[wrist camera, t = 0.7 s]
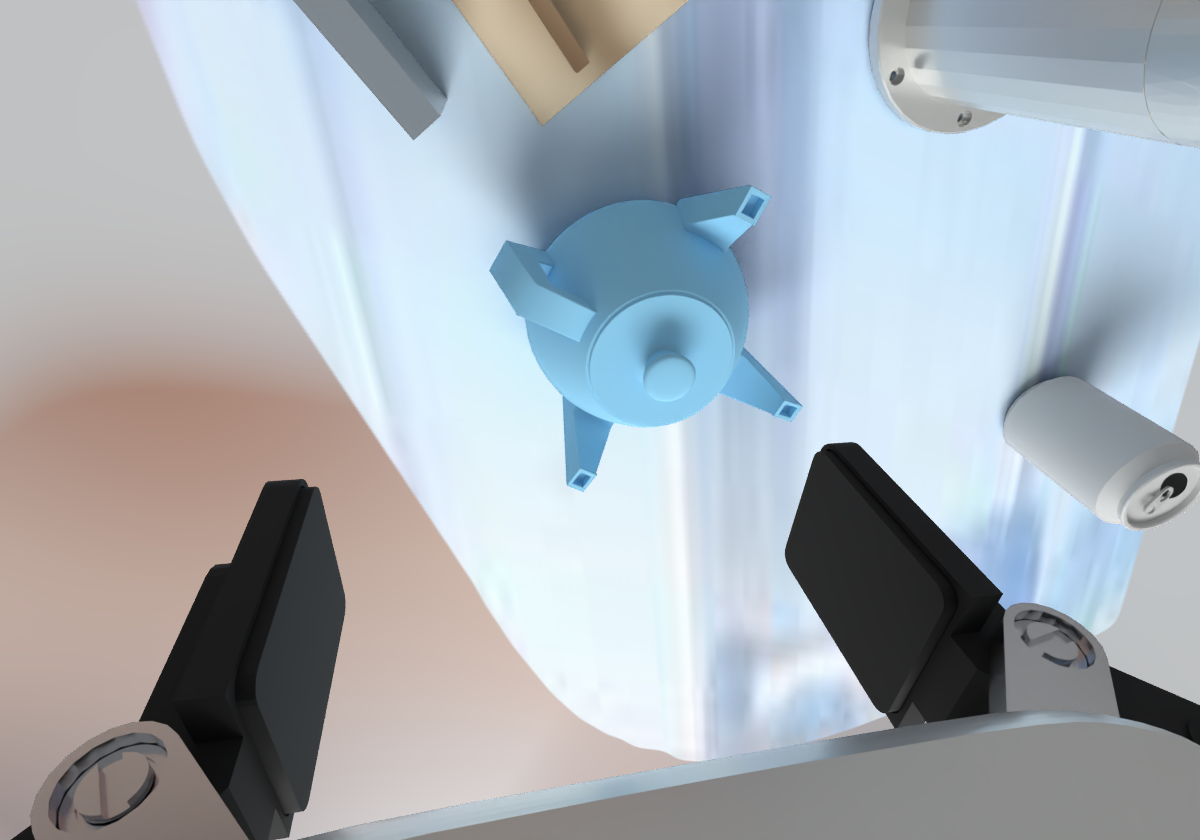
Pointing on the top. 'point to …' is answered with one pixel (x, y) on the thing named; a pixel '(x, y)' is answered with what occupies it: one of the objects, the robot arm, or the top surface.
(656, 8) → the wooden ridged plate
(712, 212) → the teapot
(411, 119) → the tile
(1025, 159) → the top surface
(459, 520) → the top surface
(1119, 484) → the can
